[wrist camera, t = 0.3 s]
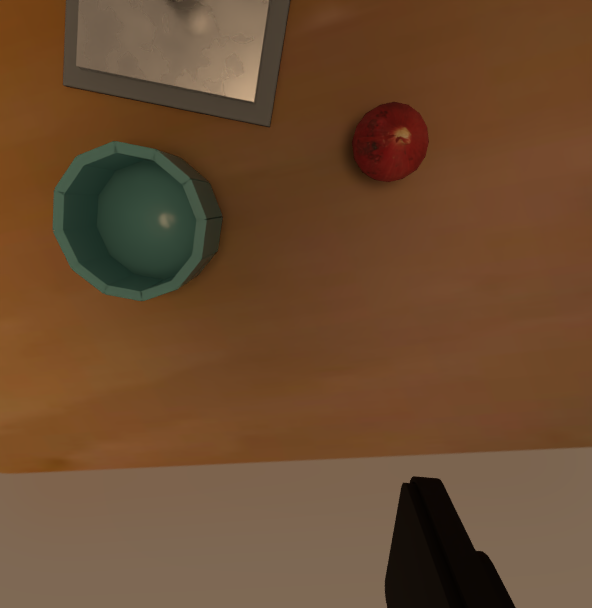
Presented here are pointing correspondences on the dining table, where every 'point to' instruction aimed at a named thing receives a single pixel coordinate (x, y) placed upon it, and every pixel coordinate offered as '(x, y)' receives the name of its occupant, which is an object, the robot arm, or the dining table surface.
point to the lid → (176, 43)
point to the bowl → (135, 220)
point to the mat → (178, 97)
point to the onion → (390, 142)
